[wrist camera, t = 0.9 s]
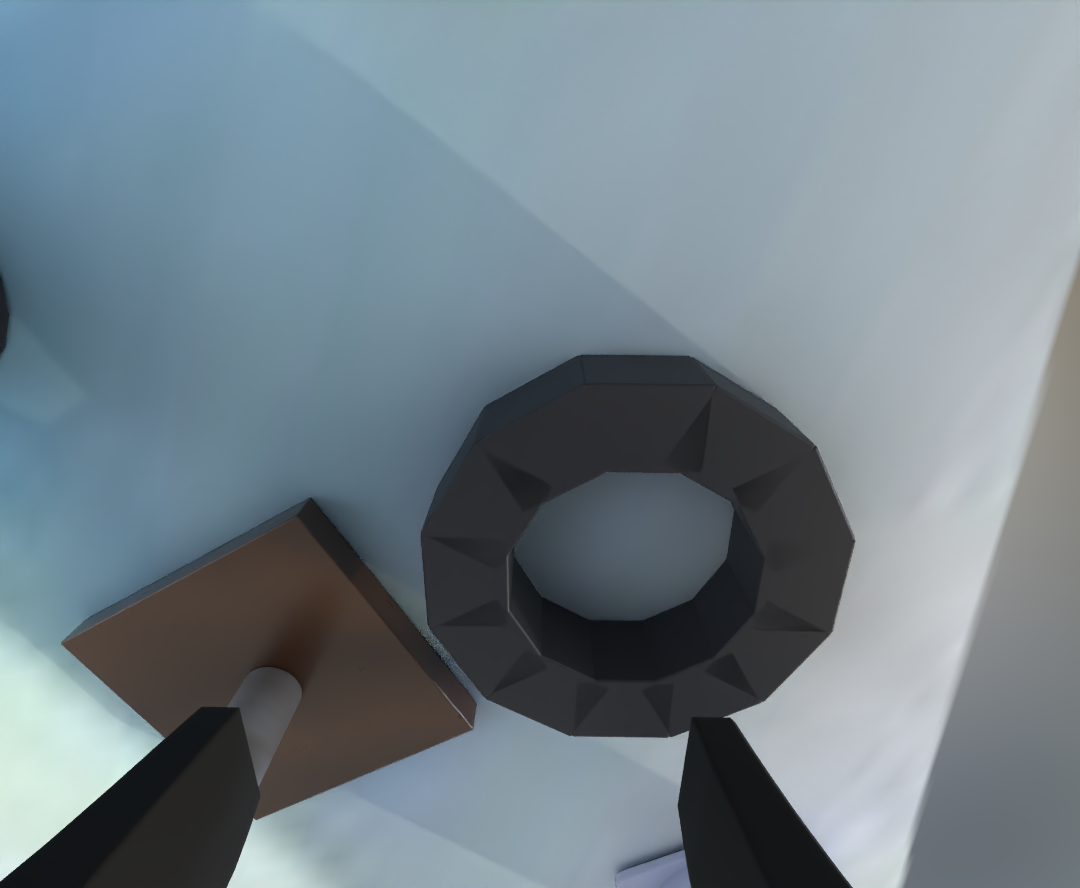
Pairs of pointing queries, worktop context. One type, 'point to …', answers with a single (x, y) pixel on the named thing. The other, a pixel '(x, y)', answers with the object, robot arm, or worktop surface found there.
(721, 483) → the ring
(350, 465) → the worktop surface
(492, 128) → the worktop surface
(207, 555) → the stand
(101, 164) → the worktop surface
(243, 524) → the worktop surface
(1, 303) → the black thermos flask
